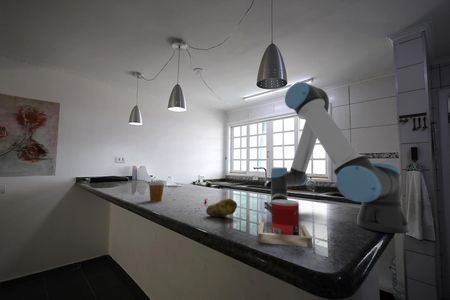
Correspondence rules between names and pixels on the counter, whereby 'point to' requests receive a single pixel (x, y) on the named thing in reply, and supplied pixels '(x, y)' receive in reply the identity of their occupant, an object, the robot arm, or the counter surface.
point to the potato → (222, 208)
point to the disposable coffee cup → (156, 190)
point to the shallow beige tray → (285, 237)
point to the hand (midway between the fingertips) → (282, 214)
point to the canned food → (285, 217)
